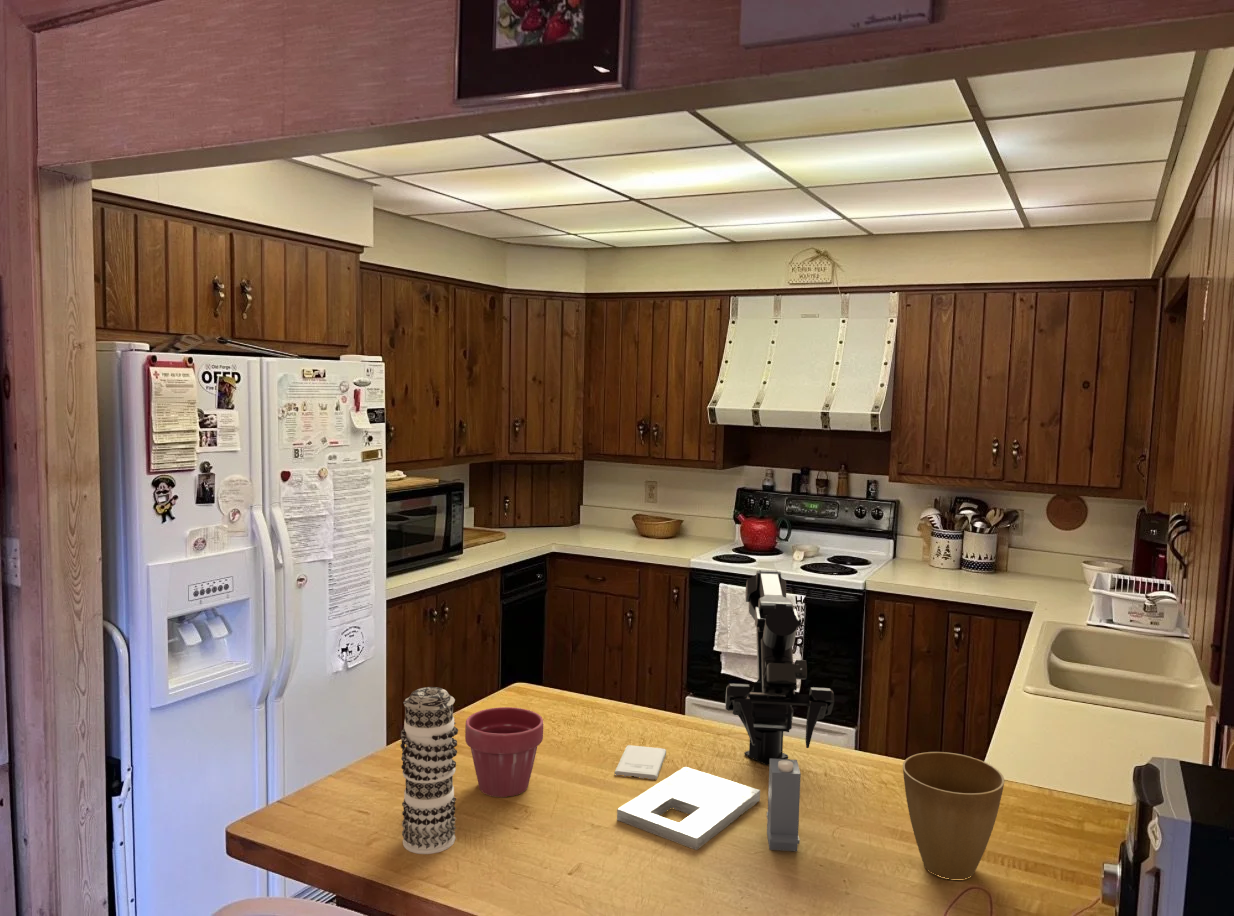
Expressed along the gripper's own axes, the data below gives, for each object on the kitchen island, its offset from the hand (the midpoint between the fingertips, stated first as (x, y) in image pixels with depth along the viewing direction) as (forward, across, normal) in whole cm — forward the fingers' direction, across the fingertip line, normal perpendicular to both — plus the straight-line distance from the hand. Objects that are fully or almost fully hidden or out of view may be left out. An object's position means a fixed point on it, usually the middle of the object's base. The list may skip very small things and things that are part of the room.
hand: (780, 745), depth 157 cm
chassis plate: (+8, -15, +11) cm, 20 cm away
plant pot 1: (+5, -50, +14) cm, 52 cm away
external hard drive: (-4, -25, +24) cm, 35 cm away
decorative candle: (+20, -58, 0) cm, 61 cm away
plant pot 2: (+18, +25, +1) cm, 31 cm away
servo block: (+15, 0, +4) cm, 15 cm away
